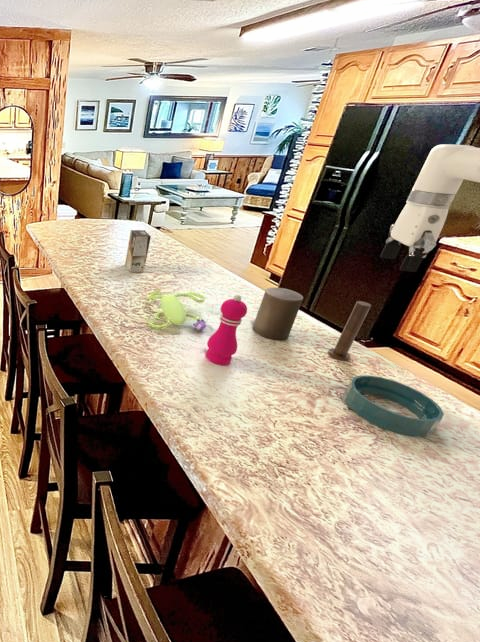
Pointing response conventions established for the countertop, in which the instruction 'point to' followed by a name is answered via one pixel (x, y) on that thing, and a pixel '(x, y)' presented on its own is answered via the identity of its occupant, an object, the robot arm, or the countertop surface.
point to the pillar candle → (277, 313)
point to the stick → (350, 332)
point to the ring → (399, 394)
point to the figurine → (175, 310)
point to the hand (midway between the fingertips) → (396, 264)
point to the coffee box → (137, 250)
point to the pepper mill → (226, 332)
